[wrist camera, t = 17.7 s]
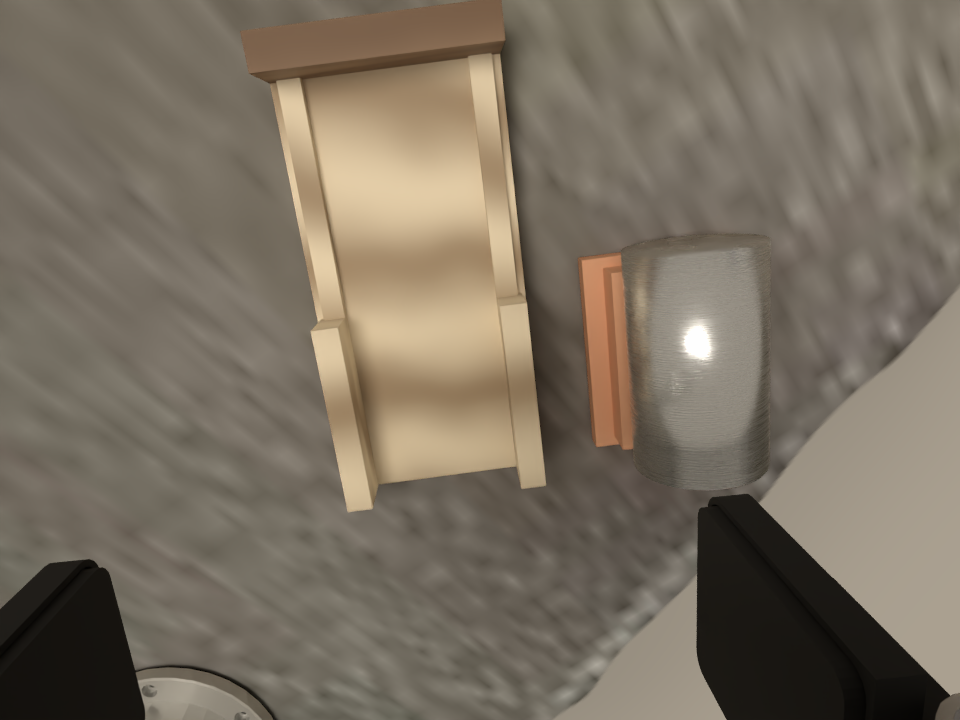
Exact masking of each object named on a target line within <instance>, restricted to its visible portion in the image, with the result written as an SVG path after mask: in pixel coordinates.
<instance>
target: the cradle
mask: <svg viewBox="0 0 960 720" xmlns="http://www.w3.org/2000/svg"><path fill="white" fill-rule="evenodd" d="M578 266H579V278H580V290H581V303H582V315H583V327H584V340H585V352H586V364H587V377H588V389H589V401H590V414H591V426H592V438H593V441H594V443H595V445H596V447H601V446H608V445H616V444H620V446H621V447H622V449H623V450H628V449H633V441H632V424H631V408H630V392H629V376H628V360H627V344H626V328H625V312H624V296H623V279H622V263H621V252H618V253H610V254H603V255H595V256H587V257H580V258H578Z"/></svg>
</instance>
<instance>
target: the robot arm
mask: <svg viewBox="0 0 960 720" xmlns="http://www.w3.org/2000/svg"><path fill="white" fill-rule="evenodd" d="M697 657H698V662H699V666H700V669H701V672H702V674H703V676H704V678H705V680H706V682H707V684H708V685H709V687H710V689H711V691H712V693H713V695H714V697H715V699H716V701H717V702H718V704H719V706H720V708H721V710H722V712H723V714H724V716H725V718H726V719H727V720H960V693H958V694H953V695H951V696H950V695H949V694H948V693H947V692H946V691H945V690H944V689H943V688H942V687H941V686H940V685H939V684H938V683H937V682H936V681H935V680H934V679H933V678H932V677H931V676H930V675H929V674H928V673H927V672H926V671H925V670H924V669H923V668H922V667H921V666H920V665H919V664H918V663H917V662H916V661H915V660H914V659H913V658H912V657H911V656H910V655H909V654H908V653H907V652H906V651H905V650H904V649H903V648H902V647H901V646H900V645H899V643H898V642H896V641H895V640H894V639H893V638H892V636H891V635H889V634H888V632H887V631H885V629H884V628H883V627H881V625H879V623H878V622H877V621H876V620H875V619H874V618H873V617H872V616H871V615H870V614H868V612H867V611H866V610H865V609H864V608H863V607H862V606H861V605H860V604H859V603H858V602H857V601H855V599H854V598H853V597H852V596H851V595H850V594H849V593H848V592H847V591H846V590H845V589H844V588H843V587H842V586H841V585H840V584H839V583H838V582H837V581H836V580H835V579H834V578H832V577H831V576H830V575H829V574H828V573H827V572H826V571H825V570H824V569H823V568H822V567H821V566H820V565H819V564H818V563H817V562H816V561H815V560H814V559H813V558H812V557H811V556H810V555H809V554H808V553H807V552H806V551H805V550H804V549H803V548H802V547H801V546H800V545H799V544H798V543H797V542H796V541H795V540H794V539H793V538H792V537H791V536H790V535H789V534H788V533H787V532H786V531H785V530H784V529H783V528H782V527H781V526H780V525H779V524H778V523H777V522H776V521H775V520H774V519H773V518H772V517H771V516H770V515H769V514H768V513H767V512H766V511H765V510H764V509H763V508H762V507H761V505H760V504H759V503H758V502H757V501H756V500H755V499H754V498H753V497H751V496H750V495H749V494H741V495H731V496H721V497H712V498H711V499H710V501H709V504H708V507H703V508H700V509H699V513H698V558H697ZM0 720H273V718H272V716H271V715H270V714H269V713H268V711H267V710H266V709H265V708H264V707H263V705H262V704H261V703H260V702H259V701H258V700H257V699H255V698H254V697H253V696H252V695H251V694H249V693H248V692H247V691H246V690H244V689H243V688H241V687H239V686H237V685H236V684H234V683H232V682H230V681H229V680H226V679H224V678H221V677H218V676H216V675H213V674H211V673H207V672H202V671H198V670H193V669H188V668H171V667H166V668H155V669H146V670H143V671H139V672H135V669H134V665H133V661H132V657H131V653H130V650H129V646H128V642H127V638H126V635H125V631H124V627H123V623H122V619H121V616H120V612H119V608H118V604H117V600H116V597H115V593H114V589H113V585H112V581H111V578H110V575H109V572H108V571H107V570H106V569H105V568H99V567H98V565H97V564H96V563H95V561H93V560H90V559H88V560H78V561H67V562H57V563H50V564H48V565H47V566H45V567H44V568H43V569H42V570H41V571H40V572H39V573H38V574H37V575H36V576H35V577H34V578H32V579H31V580H30V581H29V582H28V583H27V584H26V585H25V586H24V587H23V588H22V589H21V590H20V591H19V592H18V593H17V594H16V595H15V596H14V597H13V598H12V599H11V600H9V601H8V602H7V603H6V604H5V605H4V606H3V607H2V608H1V609H0Z"/></svg>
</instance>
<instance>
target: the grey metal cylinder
mask: <svg viewBox="0 0 960 720" xmlns="http://www.w3.org/2000/svg"><path fill="white" fill-rule="evenodd" d="M621 263H622V279H623V296H624V312H625V328H626V344H627V360H628V376H629V392H630V408H631V424H632V441H633V457H634V464H635V467H636V468H637V469H638V471H639V472H640V473H641V474H643V475H644V476H646V477H647V478H649V479H651V480H653V481H655V482H658V483H660V484H664V485H667V486H671V487H675V488H681V489H688V490H703V491H706V490H724V489H730V488H735V487H740V486H743V485H746V484H749V483H751V482H754V481H756V480H757V479H759V478H761V477H762V476H763V475H764V474H765V473H766V472H767V471H768V469H769V465H770V278H771V239H770V238H769V237H766V236H762V235H756V234H737V233H728V234H703V235H690V236H680V237H672V238H664V239H658V240H652V241H647V242H642V243H638V244H634V245H631V246H628V247H626V248H624V249H622V250H621Z"/></svg>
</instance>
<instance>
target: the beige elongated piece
mask: <svg viewBox="0 0 960 720" xmlns="http://www.w3.org/2000/svg"><path fill="white" fill-rule="evenodd" d="M240 33H241V38H242V43H243V47H244V52H245V57H246V62H247V66H248V71H249V74H251V75H253V76H255V77H257V78H260V79H262V80H264V81H266V82H268V83H270V86H271V91H272V96H273V101H274V106H275V111H276V116H277V121H278V126H279V131H280V136H281V141H282V146H283V151H284V156H285V161H286V166H287V170H288V175H289V180H290V185H291V190H292V195H293V200H294V205H295V210H296V215H297V220H298V225H299V230H300V235H301V240H302V245H303V250H304V255H305V260H306V265H307V270H308V275H309V280H310V284H311V289H312V294H313V299H314V304H315V309H316V314H317V319H318V324H317V325H316V326H315V327H314V328H313V329H312V330H311V335H312V340H313V345H314V350H315V355H316V359H317V364H318V369H319V374H320V379H321V384H322V388H323V393H324V398H325V403H326V408H327V413H328V418H329V422H330V427H331V432H332V437H333V442H334V447H335V452H336V456H337V461H338V466H339V471H340V476H341V481H342V486H343V490H344V495H345V500H346V505H347V510H348V512H352V511H360V510H367V509H373V506H374V501H375V497H376V493H377V489H378V484H386V483H393V482H401V481H408V480H416V479H424V478H431V477H439V476H446V475H454V474H461V473H469V472H476V471H484V470H491V469H499V468H506V467H514V466H517V471H518V475H519V480H520V485H521V489H525V488H533V487H540V486H546V479H545V470H544V460H543V451H542V441H541V432H540V422H539V413H538V403H537V394H536V385H535V375H534V366H533V356H532V347H531V337H530V328H529V318H528V309H527V302H526V295H525V286H524V276H523V267H522V257H521V248H520V239H519V229H518V220H517V210H516V201H515V191H514V182H513V173H512V163H511V154H510V144H509V135H508V125H507V116H506V107H505V97H504V88H503V78H502V69H501V59H500V52H501V50H502V47H503V45H504V42H505V32H504V22H503V12H502V3H501V0H476V1H468V2H460V3H453V4H445V5H437V6H429V7H422V8H414V9H406V10H398V11H391V12H383V13H375V14H367V15H360V16H352V17H344V18H336V19H329V20H321V21H313V22H305V23H298V24H290V25H282V26H275V27H267V28H259V29H251V30H244V31H240Z"/></svg>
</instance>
